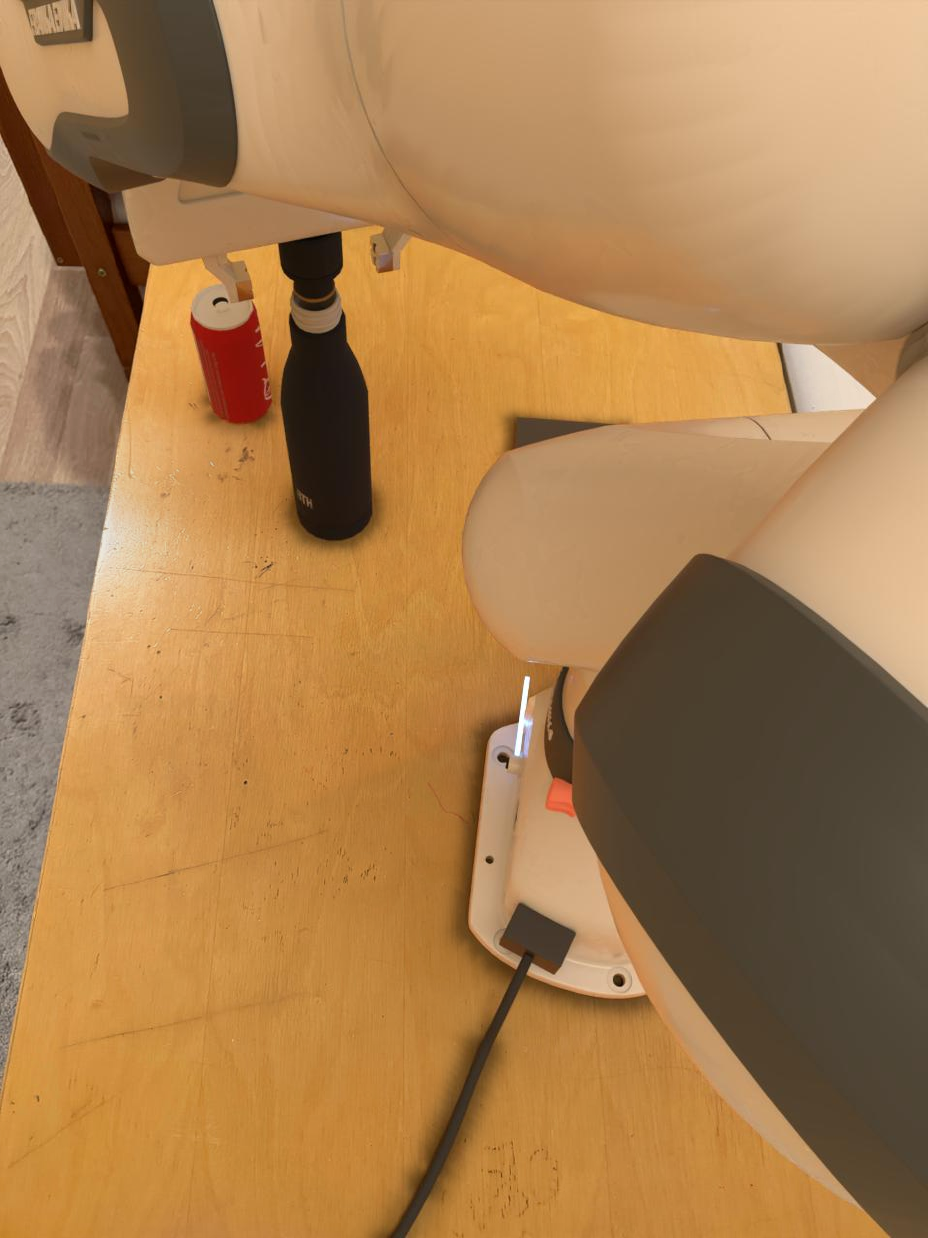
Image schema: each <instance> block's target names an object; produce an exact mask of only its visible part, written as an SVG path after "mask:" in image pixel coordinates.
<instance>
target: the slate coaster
mask: <svg viewBox="0 0 928 1238" xmlns="http://www.w3.org/2000/svg"><path fill="white" fill-rule="evenodd" d="M607 425H619V424H618V423H617V424H616V423H605V422H590V421H578V420H577V421H576V420H563V419H550V418H549V419H548V418H537V417H524V416H516V419H515V442H514V449H516V448H520V447H523V446H526V445H530V444H533V443H537V442H541V441H544V440H548V439H552V438H555V437H559V436H563V435H567V434H572V433H576V432H580V431H584V430H589V429H593V428H598V427H602V426H607Z"/></svg>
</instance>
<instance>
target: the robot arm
mask: <svg viewBox="0 0 928 1238" xmlns="http://www.w3.org/2000/svg"><path fill="white" fill-rule="evenodd" d="M0 69H1V71H2V75H3V77H4V79H5V82H6V85H7V88H8V90H9V93H10V94H11V97H12V100H13V101H14V103H15V105H16V108H17V109H18V111H19V113H20V115H21V116H22V118H23V119H24V121H25V123H26V125H27V126H28V127H29V129H30V130H31V132H32V133H33V135H34V136H35V137H36V138H37V140H38V141H39V142H40V143H41V144H42V146H43V148H44V150H45V151H46V154H47V155H48V157H50V159H52V160H53V161H54V162H56V163H57V164H58V165H60V166H61V167H62V168H63V169H65V170H67V171H68V172H70V173H71V174H73V175H74V176H76V177H77V178H79V179H80V180H82V181H84V182H86V183H87V184H89V185H91V186H93V187H95V188H96V189H99V190H101V191H103V192H105V193H107V194H110V195H111V194H115V193H119V192H121V197H122V202H123V206H124V207H123V208H124V211H125V215H126V216H125V217H126V219H127V224H128V227H129V232H130V236H131V239H132V242H133V245H134V249H135V251H136V255H138V256H139V257H140V258H141V259H143V260H144V261H145V262H147V263H149V264H151V265H153V266H155V267H162V266H163V267H164V266H167V265H174V264H179V263H184V262H190V261H194V260H199V259H202V262H203V265H204V269H206V270H207V271H208V272H209V273H211V275H213V277H215V278H216V279H217V280H218V281H220V283H221V284H225V287H226V290H227V293H228V297H229V300H230V303H231V304H232V303H237V302H242V301H246V300H251V299H252V300H254V299H255V295H254V291H253V284H252V279H251V276H250V273H249V272H248V268H247V264H246V261H245V260H236V261H231V260H230V259H229V258H228V254H231V253H237V252H241V251H247V250H250V249H257V248H262V247H266V246H272V245H278V243H283V242H288V241H293V240H299V239H304V238H309V237H314V236H319V235H325V234H330V233H335V232H340V231H342V232H345V231H349V230H355V229H360V228H365V227H371V226H377V227H381V228H384V229H383V230H382V232H381V233H376V234H372V235H369V242H370V243H369V244H370V247H371V248H370V258H371V262H372V264H373V266H375V271H376V273H377V274H383V273H388V272H395V271H399V270H401V251H403V250H404V248H405V247H406V246H407V244H408V243H409V241H410V240H411V238H416V239H419V240H422V241H424V242H428V243H431V244H434V245H438V246H440V247H443V248H445V249H446V248H447V249H449V250H451V251H453V252H458V253H460V254H462V255H465V256H467V257H470V258H471V259H475V260H477V261H479V262H482V263H484V264H486V265H487V266H489V267H491V268H493V269H496V270H498V271H500V272H501V273H504V274H505V275H507V276H509V277H512V278H513V279H516V280H518V281H520V282H522V283H524V284H526V285H528V286H530V287H532V288H535V289H536V290H539V291H540V292H543V293H545V294H548V295H552V296H554V297H557V298H560V299H563V300H564V301H567V302H571V303H574V304H577V305H579V306H582V307H585V308H588V309H592V310H595V311H597V312H601V313H603V314H607V315H611V316H613V317H614V316H615V317H617V318H622V319H626V320H629V321H634V322H637V323H640V324H645V325H649V326H653V327H658V328H665V329H670V330H671V329H672V330H677V331H684V332H689V333H696V334H701V335H707V336H708V335H709V336H714V337H721V338H727V339H732V340H739V341H748V342H762V343H773V344H774V343H775V344H776V343H777V344H789V345H806V346H808V345H809V346H813V347H814V348H815V349H817V350H818V351H819V352H821V353H822V354H824V355H825V356H826V357H827V358H828V359H830V360H831V361H832V362H833V363H835V364H836V365H837V366H839V367H840V368H841V369H842V370H844V372H846V373H847V374H848V375H850V376H851V377H852V378H853V379H854V380H855V381H856V382H857V383H859V384H860V386H862V387H863V388H865V389H866V390H867V391H868V392H869V393H870V394H871V396H873V397H874V398H875V399H874V400H873V401H872V402H871V403H870V404H869V405H868V406H867V407H866V408H851V409H838V410H837V409H836V410H822V411H821V410H820V411H807V412H805V411H804V412H791V413H789V412H788V413H774V414H760V415H759V414H758V415H745V416H744V415H743V416H729V417H714V418H713V417H712V418H697V419H685V420H683V419H682V420H670V421H653V422H637V423H636V422H635V423H623V424H622V423H621V424H618V425H607V426H602V427H598V428H593V429H589V430H584V431H580V432H576V433H572V434H567V435H563V436H559V437H555V438H552V439H548V440H544V441H541V442H537V443H533V444H530V445H526V446H523V447H520V448H516V449H515V448H513V449H510V450H506V451H504V452H503V453H501V454H500V456H498V458H496V460H495V461H494V462H493V463H492V465H490V467H489V469H488V470H487V471H486V473H484V475H483V477H482V478H481V480H480V482H479V483H478V485H477V486H476V489H475V491H474V493H473V495H472V498H471V501H470V502H469V505H468V507H467V508H468V509H467V512H466V515H465V517H464V523H463V528H462V535H461V566H462V573H463V578H464V583H465V587H466V589H467V592H468V595H469V598H470V601H471V604H472V605H473V608H474V609H475V612H476V614H477V616H478V617H479V619H480V621H481V622H482V623H483V625H484V627H485V628H486V629H487V631H488V632H489V633H490V635H491V636H492V637H493V638H494V640H496V642H497V643H499V645H500V646H501V647H503V648H504V649H505V650H506V652H508V653H510V654H511V656H513V657H514V658H515V659H517V660H519V661H523V662H529V663H536V664H544V665H549V666H556V667H557V666H558V667H561V669H560V670H559V672H558V673H557V677H556V679H555V681H554V683H553V685H552V686H550V687H548V688H546V689H544V690H541V691H539V692H537V693H535V694H534V695H532V696H530V697H529V698H528V692H529V686H530V676H524V683H523V690H522V698H521V705H520V713H519V721H518V722H516V723H511V724H507V725H504V726H502V727H499V728H498V729H495V730H494V731H493V732H492V733H491V735H490V736H489V739H488V741H487V744H486V751H485V760H484V767H483V778H482V786H481V794H480V795H481V796H480V803H479V804H480V805H479V813H478V821H477V832H476V841H475V850H474V858H473V868H472V876H471V886H470V894H469V904H468V913H467V924H468V928H469V930H470V932H471V934H473V936H474V937H475V939H476V940H477V941H478V942H479V943H480V944H481V945H482V946H483V948H485V949H486V950H487V951H488V952H490V954H491V955H492V956H494V957H495V958H497V959H498V960H499V961H501V962H502V963H504V964H505V965H507V966H509V967H510V968H512V969H514V970H515V971H514V974H513V976H512V978H511V980H510V982H509V984H508V986H507V988H506V991H505V993H504V995H503V997H502V999H501V1001H500V1003H499V1006H497V1007H498V1008H497V1010H496V1012H495V1014H494V1016H493V1018H492V1020H491V1022H490V1024H489V1026H488V1028H487V1030H486V1033H485V1034H484V1036H483V1039H482V1041H481V1042H480V1046H479V1047H478V1050H477V1052H476V1055H475V1057H474V1059H473V1062H472V1064H471V1067H470V1069H469V1072H468V1074H467V1077H466V1079H465V1082H464V1084H463V1087H462V1090H461V1093H460V1094H459V1097H458V1100H457V1102H456V1105H455V1108H454V1110H453V1113H452V1115H451V1117H450V1121H449V1123H448V1125H447V1127H446V1131H445V1133H444V1135H443V1137H442V1140H441V1141H440V1144H439V1146H438V1149H437V1150H436V1153H435V1155H434V1157H433V1158H432V1162H431V1164H430V1165H429V1167H428V1170H427V1172H426V1174H425V1176H424V1178H423V1180H422V1181H421V1184H420V1186H419V1188H418V1189H417V1191H416V1193H415V1195H414V1197H413V1198H412V1201H411V1203H410V1204H409V1206H408V1208H407V1209H406V1212H404V1214H403V1216H402V1219H401V1220H400V1222H399V1224H398V1225H397V1226H396V1229H395V1230H394V1232H393V1233H392V1235H391V1237H390V1238H407V1235H408V1233H410V1230H411V1228H412V1227H413V1225H414V1223H415V1221H416V1219H418V1216H419V1214H420V1212H421V1211H422V1209H423V1207H424V1206H425V1203H426V1201H427V1199H429V1198H428V1197H429V1195H430V1194H431V1191H432V1189H433V1188H434V1186H435V1184H436V1182H437V1180H438V1178H439V1176H440V1174H441V1172H442V1169H443V1167H444V1166H445V1164H446V1161H447V1159H448V1157H449V1154H450V1152H451V1150H452V1148H453V1144H454V1143H455V1140H456V1139H457V1138H456V1137H457V1135H458V1134H459V1130H460V1129H461V1128H460V1127H461V1126H462V1122H463V1121H464V1118H465V1115H466V1112H467V1110H468V1107H469V1104H470V1102H471V1099H472V1096H473V1095H474V1091H475V1088H476V1087H477V1083H478V1081H479V1079H480V1076H481V1073H482V1071H483V1068H484V1066H485V1064H486V1061H487V1059H488V1056H489V1054H490V1052H491V1049H492V1048H493V1046H494V1043H495V1041H496V1038H497V1036H498V1034H499V1032H500V1031H501V1028H502V1027H503V1024H504V1023H505V1020H506V1018H507V1017H508V1015H509V1012H510V1010H511V1008H512V1006H513V1004H514V1001H515V999H516V998H517V995H518V993H519V991H520V989H521V988H522V984H523V982H524V980H525V978H526V976H528V977H530V978H532V979H535V980H537V981H540V982H542V983H545V984H547V985H549V986H553V987H556V988H559V989H562V990H566V991H569V992H571V993H572V992H573V993H576V994H579V995H585V996H590V997H595V998H602V999H631V998H637V997H638V998H639V997H642V996H643V997H644V996H647V998H648V1000H649V1001H650V1003H651V1004H652V1007H653V1008H654V1009H655V1011H656V1013H657V1014H658V1016H659V1017H660V1019H661V1020H662V1022H663V1023H664V1025H665V1026H666V1028H667V1030H668V1031H669V1032H670V1034H671V1035H672V1037H673V1038H674V1039H675V1041H676V1043H677V1044H678V1046H679V1047H680V1048H681V1050H682V1051H683V1052H684V1053H685V1055H686V1056H687V1058H688V1059H689V1060H690V1061H691V1063H692V1064H693V1066H695V1068H696V1069H697V1071H698V1072H699V1073H700V1074H701V1075H702V1077H703V1078H704V1079H705V1081H706V1082H707V1083H708V1084H709V1085H710V1086H711V1088H712V1089H713V1090H714V1091H715V1092H716V1093H717V1095H718V1096H719V1097H720V1098H721V1099H722V1100H723V1101H724V1103H725V1104H727V1106H728V1107H729V1108H730V1109H731V1110H732V1111H733V1112H734V1113H735V1114H736V1115H738V1117H739V1118H740V1119H742V1121H744V1123H746V1124H747V1125H748V1126H749V1127H750V1128H752V1129H753V1131H755V1132H756V1133H757V1134H758V1135H759V1136H760V1137H761V1138H762V1139H763V1140H764V1141H766V1143H767V1144H769V1145H770V1146H771V1147H772V1148H773V1149H774V1150H775V1151H776V1152H778V1153H779V1154H780V1155H781V1156H783V1157H784V1158H785V1159H786V1160H787V1161H789V1162H790V1163H792V1164H793V1165H794V1166H795V1167H797V1168H798V1169H799V1170H801V1171H803V1172H804V1173H805V1174H806V1175H808V1176H809V1177H811V1178H812V1179H813V1180H815V1181H816V1182H818V1183H819V1184H820V1185H821V1186H823V1187H825V1188H826V1189H827V1190H829V1192H832V1193H833V1194H834V1195H836V1196H837V1197H839V1198H841V1199H842V1200H844V1201H846V1202H847V1203H849V1204H851V1205H853V1206H854V1207H856V1208H858V1209H859V1210H862V1211H863V1212H865V1213H866V1214H867V1215H868V1216H869V1217H870V1218H871V1219H872V1220H873V1221H874V1223H876V1224H877V1225H878V1227H879V1228H880V1229H881V1230H882V1231H883V1232H885V1234H886V1235H887V1236H888V1237H889V1238H928V0H0ZM500 756H503V757H505V758H506V759H505V760H506V761H505V762H501V761H499V759H498V757H500ZM486 860H490V861H491V863H489V862H487V861H486ZM615 976H619V977H621V980H622V981H623V984H622V986H617V985H616V984H615V983H614V977H615Z"/></svg>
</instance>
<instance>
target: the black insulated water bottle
mask: <svg viewBox="0 0 928 1238" xmlns="http://www.w3.org/2000/svg"><path fill="white" fill-rule="evenodd" d="M342 232H343V231H340V232H335V233H330V234H325V235H319V236H314V237H309V238H304V239H299V240H293V241H288V242H283V243H278V244H277V248H278V255H279V263H280V267H281V270H282V272H283V274H284V275H285V276H286V277H287V278H288V279H289V280H291V281H292V283H293V286H292V288H293V289H292V291H291V295H290V297H289V306H290V311H289V314H288V327H289V335H290V342H291V346H290V349H289V352H288V354H287V357H286V360H285V362H284V366H283V368H282V369H283V370H282V376H281V385H280V397H279V398H280V399H279V401H280V402H279V404H280V410H281V418H282V424H283V429H284V436H285V437H284V438H285V443H286V450H287V458H288V464H289V469H290V471H289V472H290V477H291V482H292V483H291V484H292V490H293V496H294V503H295V510H296V515H297V519H298V520H299V523H300V526H302V527H303V528H304V530H305V531H306V532H307V533H308V534H310V535H312V536H314V537H315V538H317V539H322V540H323V541H328V542H330V541H331V542H333V541H336V542H337V541H339V542H340V541H344V540H347V539H351V538H353V537H355V536H357V535H358V534H360V533H361V532H363V531H364V530H365V528H367V526H368V524H369V523H370V522H371V521H370V520H371V518H372V516H373V490H372V489H373V488H372V487H373V485H372V461H371V460H372V459H371V435H370V434H371V433H370V405H369V404H370V403H369V390H368V386H367V382H366V379H365V376H364V373H363V370H362V367H361V365H360V363H359V361H358V359H357V357H356V355H355V353H354V351H353V349H352V348H351V346H350V344H349V342H348V334H347V316H346V313H345V311H344V309H343V306H342V296H341V295H340V293H339V291H338V288H337V287H336V281H335V279H336V278H337V277H338V276H339V275H340V274H341V273H342V270H343V268H344V251H343V250H344V249H343V233H342Z"/></svg>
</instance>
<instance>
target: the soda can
mask: <svg viewBox="0 0 928 1238" xmlns="http://www.w3.org/2000/svg"><path fill="white" fill-rule="evenodd" d="M189 325H190V329H191V333H192V337H193V340H194V345H195V349H196V354H197V356H198V360H199V365H200V369H201V373H202V377H203V381H204V385H205V389H206V393H207V397H208V401H209V404H210V406H211V409H212V411H213V413H214V414H215V415H216V416H217V417H219V419H221V420H223V421H225V422H228V423H232V424H248V423H252V422H254V421H256V420H259V419H260V418H262V417H264V416H265V415H266V414H267V412H268V410H269V409H270V407H271V405H272V403H273V397H272V392H271V390H272V389H271V385H270V379H269V374H268V367H267V360H266V355H265V354H266V353H265V349H264V343H263V337H262V331H261V324H260V319H259V314H258V309H257V307H256V305H255V303H254V301H253V299H251V300H246V301H242V302H237V303H232V304H231V303H230V300H229V297H228V293H227V290H226V287H225V284H223V283H215V284H211V285H208V286H206V287H203V288H202V289H200V290H199V291H198V292H197V293H196V294H195V295H194V296H193V298H192V302H191V304H190V321H189Z"/></svg>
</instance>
